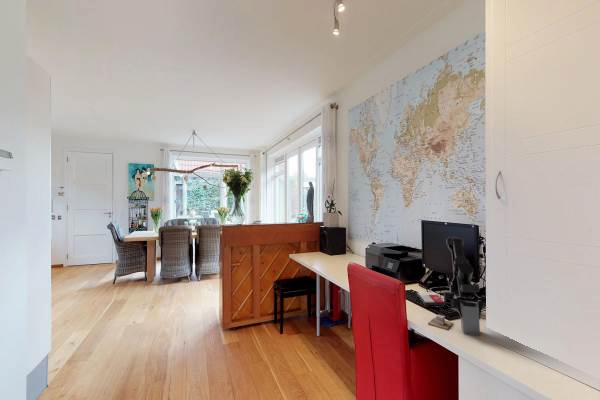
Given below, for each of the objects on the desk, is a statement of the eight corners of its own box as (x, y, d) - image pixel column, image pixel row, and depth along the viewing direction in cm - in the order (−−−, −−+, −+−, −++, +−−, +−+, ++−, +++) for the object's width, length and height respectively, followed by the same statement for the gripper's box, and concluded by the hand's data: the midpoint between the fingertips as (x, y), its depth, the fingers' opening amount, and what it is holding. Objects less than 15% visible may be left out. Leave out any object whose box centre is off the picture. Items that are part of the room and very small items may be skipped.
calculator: (424, 301, 144) (416, 291, 159) (424, 309, 145) (416, 298, 159) (445, 301, 143) (435, 291, 158) (446, 309, 143) (435, 298, 158)
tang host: (434, 319, 130) (434, 311, 130) (453, 325, 124) (452, 316, 124) (427, 325, 124) (427, 316, 124) (447, 331, 118) (446, 321, 118)
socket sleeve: (461, 327, 120) (460, 301, 120) (476, 329, 117) (475, 302, 118) (463, 333, 114) (462, 305, 115) (480, 336, 112) (478, 307, 112)
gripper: (443, 274, 124) (447, 306, 113) (491, 278, 116) (499, 312, 106) (442, 286, 131) (445, 317, 120) (487, 290, 123) (494, 324, 113)
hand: (470, 318), depth 115 cm, fingers open, 6 cm apart
